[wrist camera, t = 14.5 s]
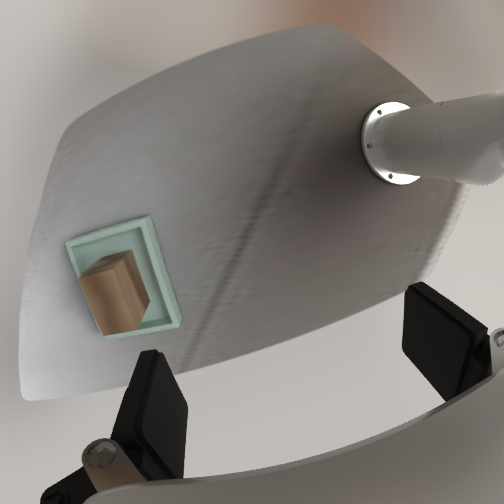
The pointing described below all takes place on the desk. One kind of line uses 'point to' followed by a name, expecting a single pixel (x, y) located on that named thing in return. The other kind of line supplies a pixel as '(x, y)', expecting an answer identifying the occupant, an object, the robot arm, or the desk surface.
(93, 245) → the tray
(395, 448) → the robot arm
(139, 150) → the desk surface
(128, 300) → the walnut block
